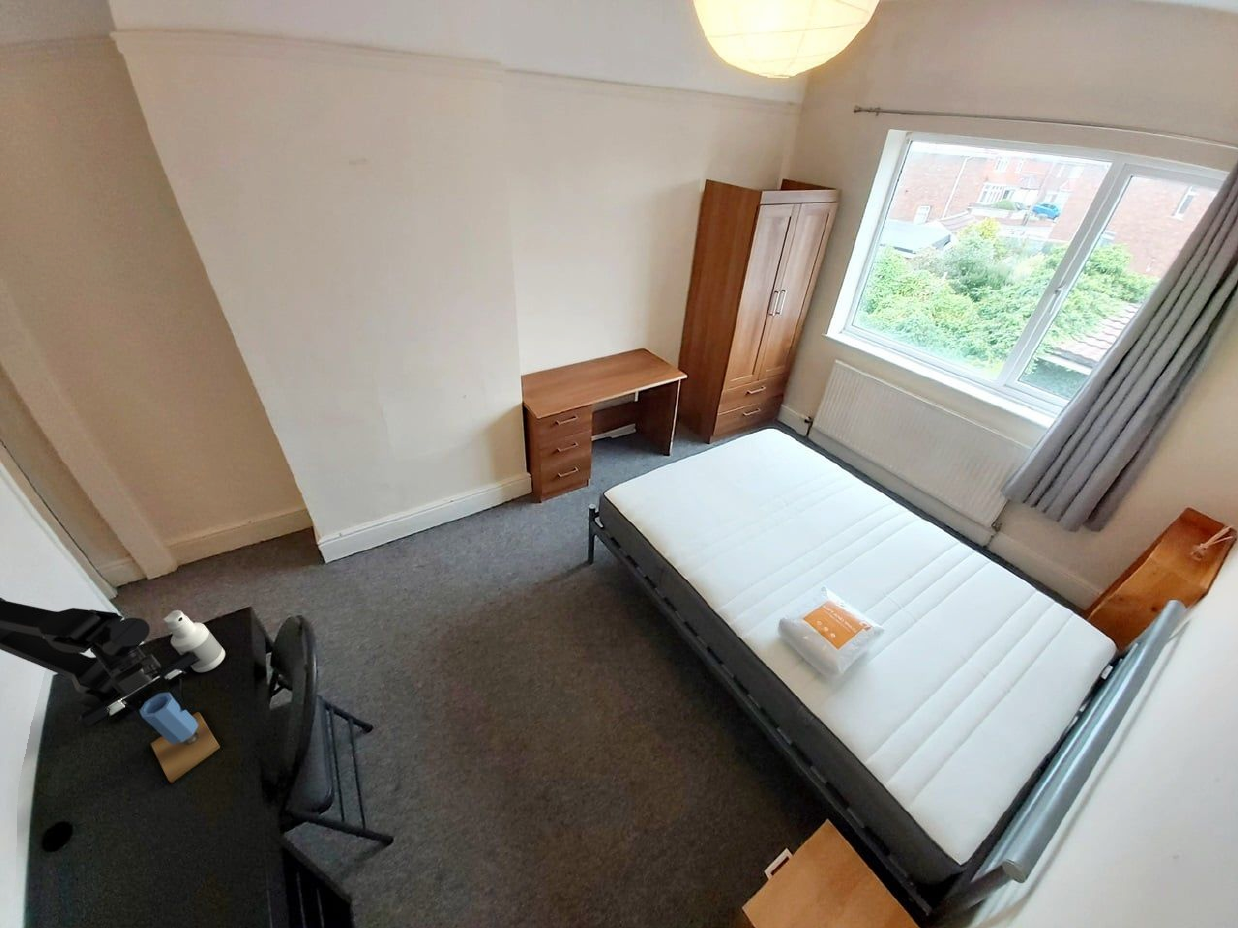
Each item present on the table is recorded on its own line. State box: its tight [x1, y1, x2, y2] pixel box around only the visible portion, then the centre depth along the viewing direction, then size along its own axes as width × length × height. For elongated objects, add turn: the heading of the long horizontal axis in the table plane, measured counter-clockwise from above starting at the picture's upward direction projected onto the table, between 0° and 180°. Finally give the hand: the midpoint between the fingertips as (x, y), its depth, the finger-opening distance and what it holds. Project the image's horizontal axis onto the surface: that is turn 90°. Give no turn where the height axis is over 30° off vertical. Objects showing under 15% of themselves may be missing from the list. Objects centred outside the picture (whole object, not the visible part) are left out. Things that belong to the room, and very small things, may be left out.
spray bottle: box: [163, 609, 226, 673], centre depth 121 cm, size 7×7×18 cm
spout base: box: [150, 711, 221, 784], centre depth 107 cm, size 12×9×4 cm
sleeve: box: [139, 692, 198, 744], centre depth 104 cm, size 5×5×11 cm
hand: (169, 719), depth 102 cm, fingers closed on sleeve, 5 cm apart
